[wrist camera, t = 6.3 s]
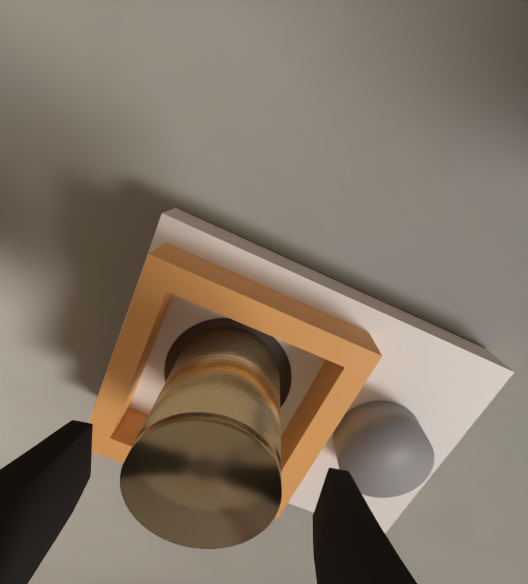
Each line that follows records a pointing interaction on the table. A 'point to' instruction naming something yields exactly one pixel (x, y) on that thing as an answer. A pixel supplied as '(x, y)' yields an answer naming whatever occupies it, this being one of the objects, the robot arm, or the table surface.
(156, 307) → the white fixture board
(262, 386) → the bead tin
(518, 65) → the table surface
